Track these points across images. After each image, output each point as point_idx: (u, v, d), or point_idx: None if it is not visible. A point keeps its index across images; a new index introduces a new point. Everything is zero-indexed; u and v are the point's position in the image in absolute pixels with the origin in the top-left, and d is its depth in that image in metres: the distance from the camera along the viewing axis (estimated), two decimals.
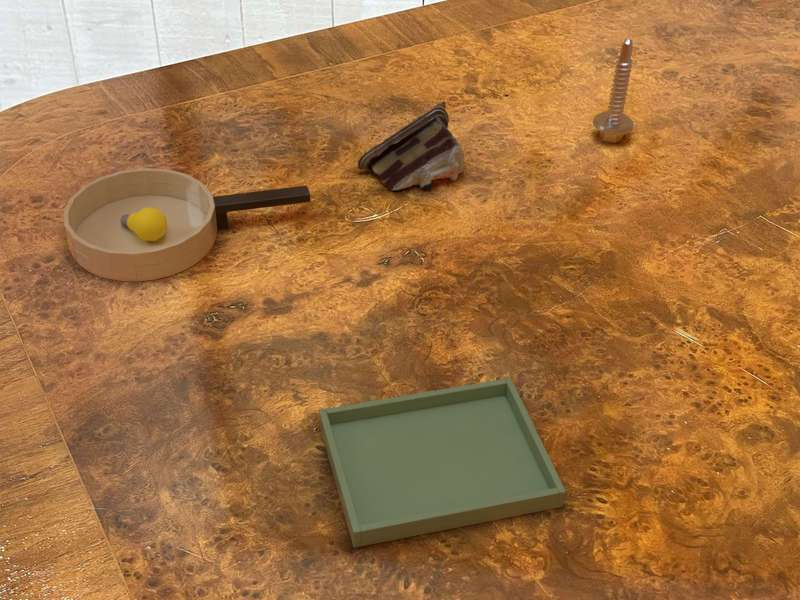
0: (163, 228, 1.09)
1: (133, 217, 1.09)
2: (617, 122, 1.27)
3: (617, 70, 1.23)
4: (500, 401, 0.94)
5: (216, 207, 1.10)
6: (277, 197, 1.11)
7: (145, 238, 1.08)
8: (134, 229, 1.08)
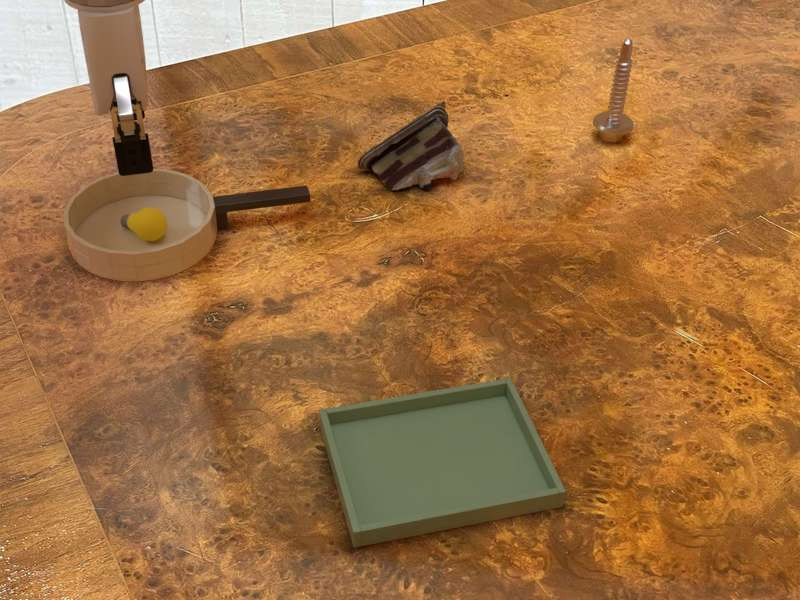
0: (163, 228, 1.09)
1: (133, 217, 1.09)
2: (617, 122, 1.27)
3: (617, 70, 1.23)
4: (500, 401, 0.94)
5: (216, 207, 1.10)
6: (277, 197, 1.11)
7: (145, 238, 1.08)
8: (134, 229, 1.08)
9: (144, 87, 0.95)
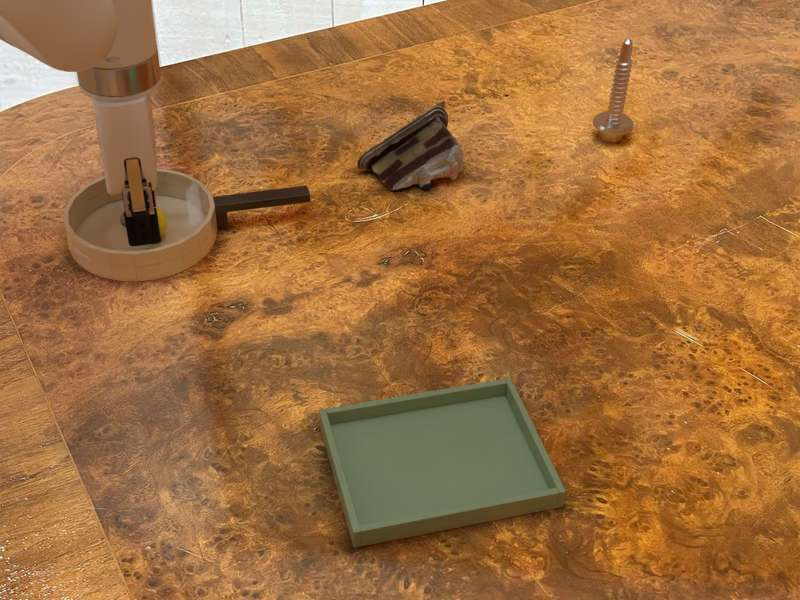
0: (163, 226, 1.09)
1: None
2: (617, 122, 1.27)
3: (617, 70, 1.23)
4: (500, 401, 0.94)
5: (216, 207, 1.10)
6: (277, 197, 1.11)
7: None
8: None
9: (154, 169, 1.01)
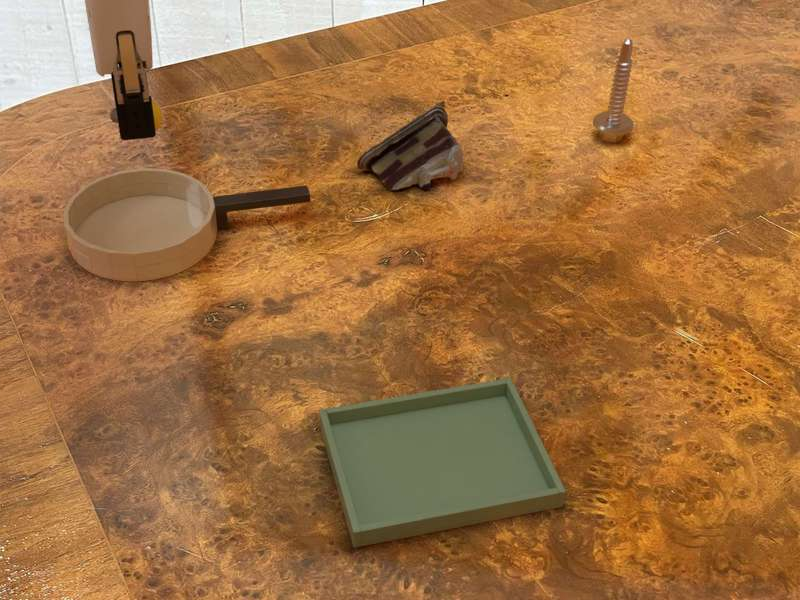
0: (158, 120, 0.99)
1: None
2: (617, 122, 1.27)
3: (617, 70, 1.23)
4: (500, 401, 0.94)
5: (216, 207, 1.10)
6: (277, 197, 1.11)
7: None
8: None
9: (149, 46, 0.91)
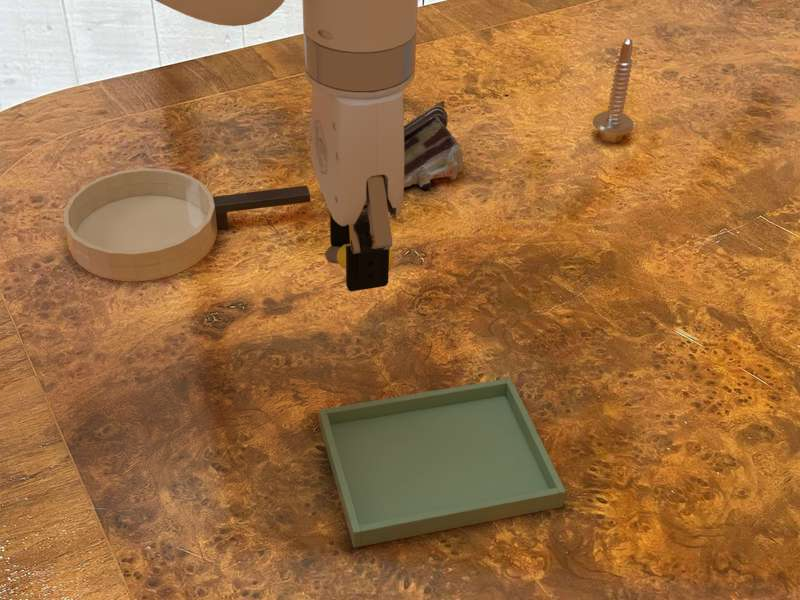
0: (390, 264, 0.82)
1: None
2: (617, 122, 1.27)
3: (617, 70, 1.23)
4: (500, 401, 0.94)
5: (216, 207, 1.10)
6: (277, 197, 1.11)
7: None
8: None
9: (402, 191, 0.74)
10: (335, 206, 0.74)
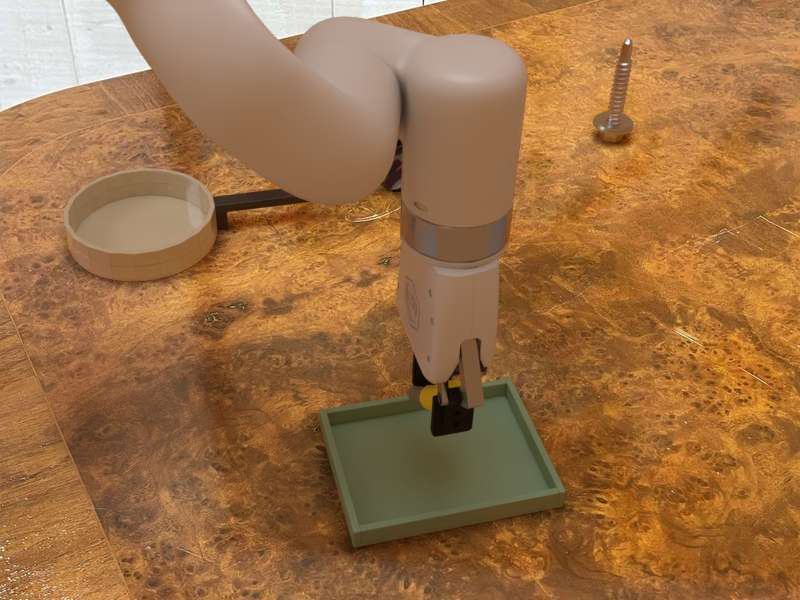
0: (474, 408, 0.82)
1: (433, 394, 0.83)
2: (617, 122, 1.27)
3: (617, 70, 1.23)
4: (500, 401, 0.94)
5: (216, 207, 1.10)
6: (277, 197, 1.11)
7: None
8: None
9: (494, 350, 0.74)
10: (427, 365, 0.75)
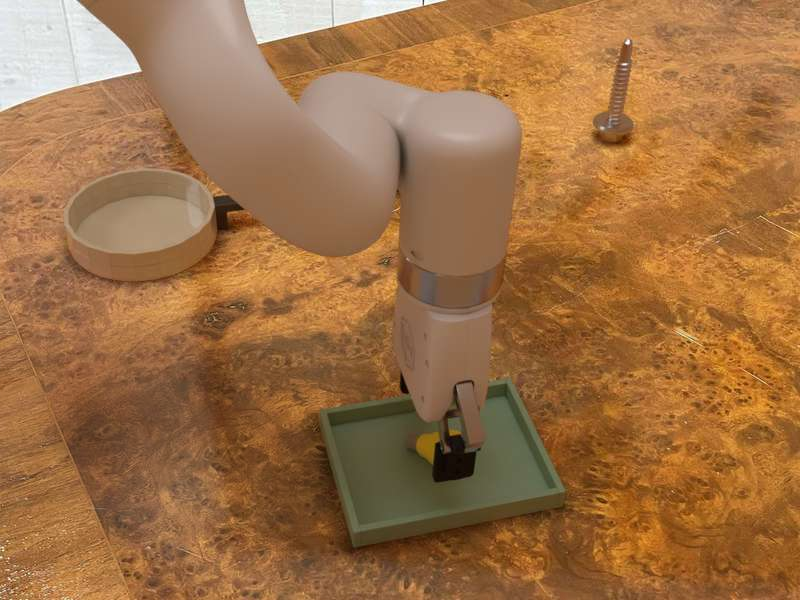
0: None
1: (429, 443, 0.86)
2: (617, 122, 1.27)
3: (617, 70, 1.23)
4: (500, 401, 0.94)
5: (216, 207, 1.10)
6: None
7: None
8: (432, 459, 0.86)
9: (486, 391, 0.77)
10: (421, 404, 0.77)
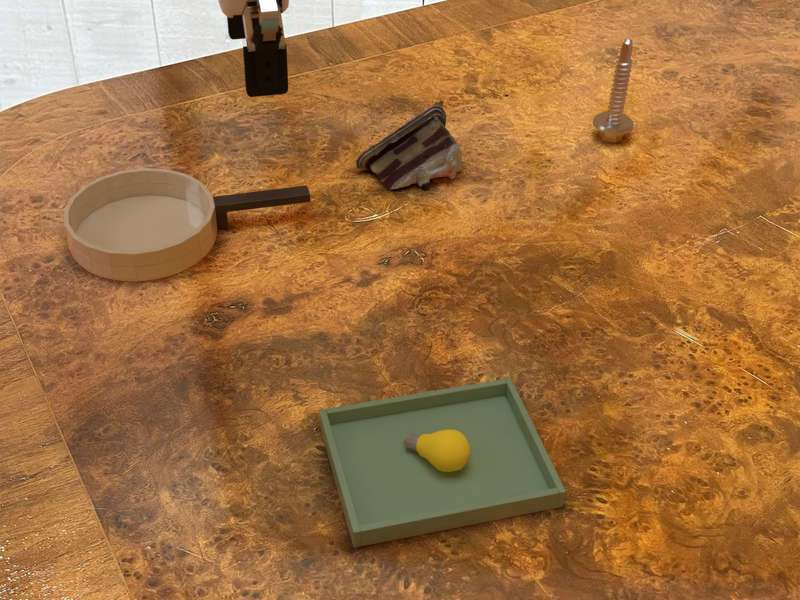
0: (468, 457, 0.86)
1: (429, 443, 0.86)
2: (617, 122, 1.27)
3: (617, 70, 1.23)
4: (500, 401, 0.94)
5: (216, 207, 1.10)
6: (277, 197, 1.11)
7: (446, 470, 0.86)
8: (432, 459, 0.86)
9: None
10: None
